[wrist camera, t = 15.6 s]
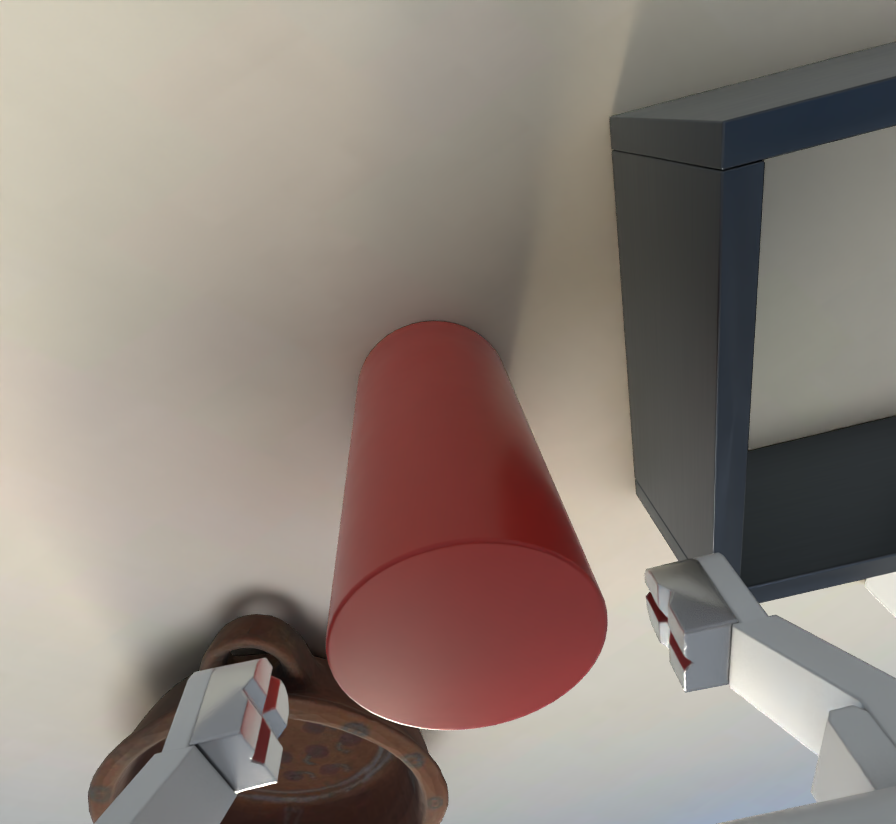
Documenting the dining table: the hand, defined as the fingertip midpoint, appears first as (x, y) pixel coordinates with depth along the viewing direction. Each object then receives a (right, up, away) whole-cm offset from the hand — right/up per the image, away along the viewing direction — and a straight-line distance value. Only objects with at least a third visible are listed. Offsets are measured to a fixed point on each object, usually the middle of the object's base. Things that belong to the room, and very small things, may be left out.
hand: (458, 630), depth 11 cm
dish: (-9, -13, +20) cm, 26 cm away
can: (-1, +5, +10) cm, 12 cm away
